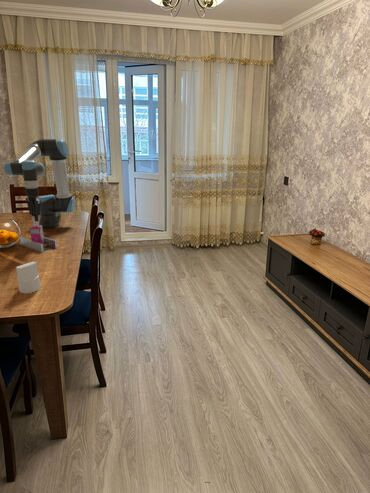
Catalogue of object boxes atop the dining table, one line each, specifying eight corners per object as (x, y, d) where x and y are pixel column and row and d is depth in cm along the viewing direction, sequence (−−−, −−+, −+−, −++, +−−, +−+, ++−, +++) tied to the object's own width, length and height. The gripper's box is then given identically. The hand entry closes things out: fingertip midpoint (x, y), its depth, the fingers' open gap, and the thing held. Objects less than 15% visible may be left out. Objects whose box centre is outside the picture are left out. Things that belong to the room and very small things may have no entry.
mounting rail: (19, 246, 217) (18, 237, 215) (37, 242, 226) (36, 233, 224) (40, 254, 203) (39, 245, 201) (58, 249, 212) (57, 240, 210)
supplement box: (35, 242, 216) (32, 225, 213) (44, 242, 217) (42, 225, 213) (31, 245, 211) (29, 227, 207) (41, 245, 211) (39, 227, 207)
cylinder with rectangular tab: (27, 295, 153) (23, 270, 149) (15, 290, 157) (11, 265, 154) (44, 287, 160) (41, 263, 156) (32, 283, 165) (29, 260, 161)
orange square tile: (30, 245, 213) (30, 244, 213) (40, 243, 219) (40, 241, 218) (36, 248, 209) (36, 246, 209) (47, 245, 215) (46, 243, 214)
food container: (65, 218, 287) (64, 207, 284) (60, 220, 281) (59, 208, 278) (53, 217, 291) (52, 205, 288) (48, 219, 285) (47, 207, 282)
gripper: (19, 187, 203) (24, 225, 211) (31, 189, 196) (36, 229, 203) (31, 185, 209) (36, 223, 216) (43, 187, 202) (47, 226, 209)
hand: (36, 226), depth 210 cm, fingers closed
